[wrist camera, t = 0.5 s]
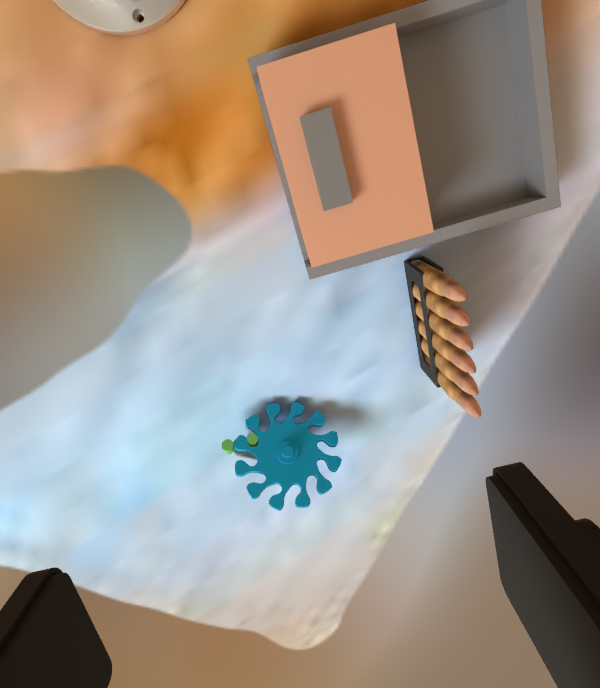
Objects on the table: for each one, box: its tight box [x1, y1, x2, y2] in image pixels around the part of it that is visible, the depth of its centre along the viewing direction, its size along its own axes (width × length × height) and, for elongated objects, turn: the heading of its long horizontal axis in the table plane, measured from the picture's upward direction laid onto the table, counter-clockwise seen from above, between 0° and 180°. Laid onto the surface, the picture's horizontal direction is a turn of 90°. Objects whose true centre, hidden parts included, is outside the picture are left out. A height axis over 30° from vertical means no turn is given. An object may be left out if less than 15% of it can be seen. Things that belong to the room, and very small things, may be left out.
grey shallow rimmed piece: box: [248, 0, 561, 279], centre depth 36 cm, size 20×16×4 cm
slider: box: [257, 23, 434, 267], centre depth 33 cm, size 9×13×7 cm
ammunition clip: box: [404, 256, 481, 417], centre depth 37 cm, size 11×2×12 cm, turn 13°
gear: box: [222, 401, 341, 511], centre depth 44 cm, size 11×6×10 cm
